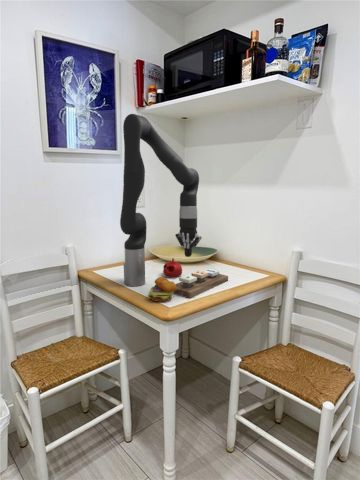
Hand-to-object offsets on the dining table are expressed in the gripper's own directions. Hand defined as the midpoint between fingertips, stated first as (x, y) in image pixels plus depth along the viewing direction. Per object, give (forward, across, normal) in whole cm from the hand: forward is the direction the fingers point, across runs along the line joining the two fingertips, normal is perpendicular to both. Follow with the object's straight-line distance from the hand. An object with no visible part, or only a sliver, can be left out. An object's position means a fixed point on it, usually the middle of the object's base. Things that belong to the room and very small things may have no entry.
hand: (188, 256), depth 144 cm
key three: (+15, 0, +18) cm, 23 cm away
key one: (+14, 0, 0) cm, 14 cm away
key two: (+14, 0, +9) cm, 16 cm away
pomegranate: (+16, -20, +13) cm, 29 cm away
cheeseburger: (+16, -3, -13) cm, 21 cm away
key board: (+16, 0, +9) cm, 18 cm away
